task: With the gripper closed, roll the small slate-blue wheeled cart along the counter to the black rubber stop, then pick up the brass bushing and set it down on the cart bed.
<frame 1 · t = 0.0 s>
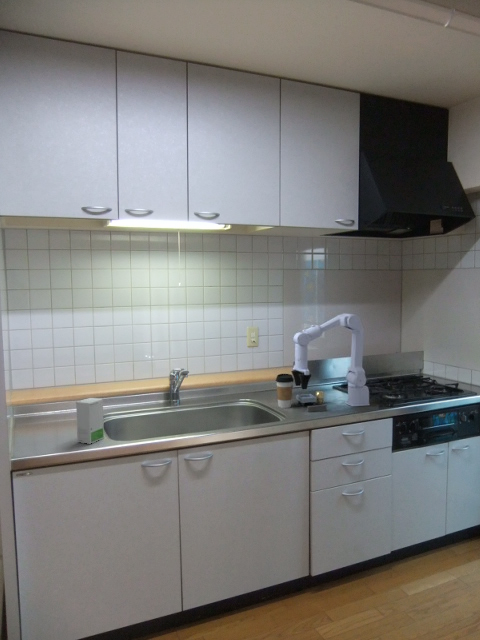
hand: (301, 387, 223), 10 cm above the countertop, fingers open, 7 cm apart
cart: (306, 400, 232), point 2 cm above the countertop, slide at 0.0 cm
coffee cup: (284, 406, 229), on the countertop
stop: (316, 410, 220), on the countertop
bushing: (319, 403, 234), on the countertop
skincare box: (90, 440, 183), on the countertop
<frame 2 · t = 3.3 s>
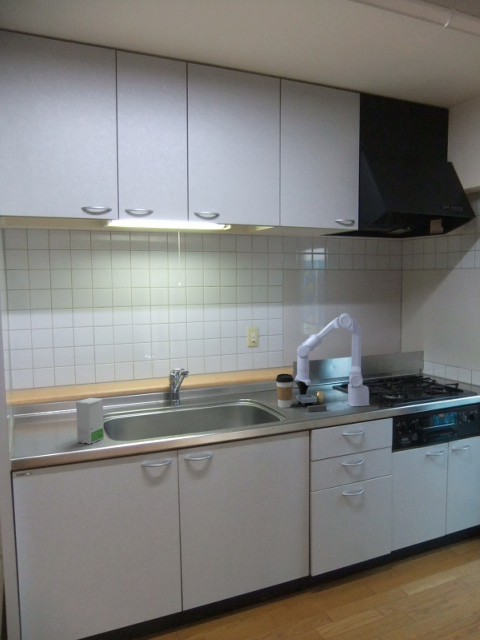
hand: (302, 396, 236), 3 cm above the countertop, fingers closed
cart: (306, 400, 232), point 2 cm above the countertop, slide at 0.4 cm, touching gripper
everything else where it was.
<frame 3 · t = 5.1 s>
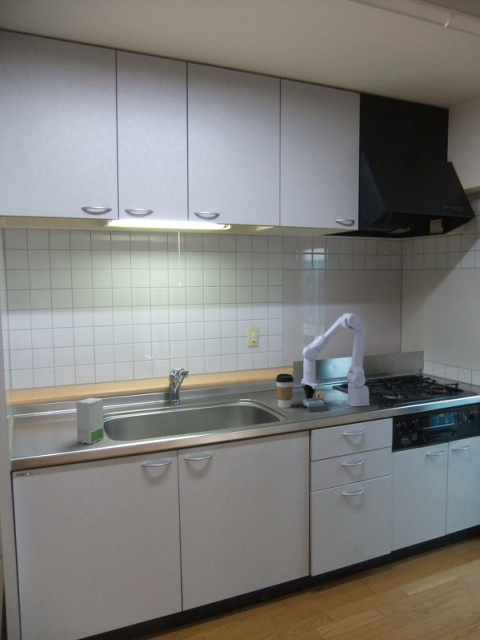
hand: (309, 400, 229), 3 cm above the countertop, fingers closed
cart: (313, 404, 224), point 2 cm above the countertop, slide at 8.4 cm, touching gripper, stop
everything else where it was.
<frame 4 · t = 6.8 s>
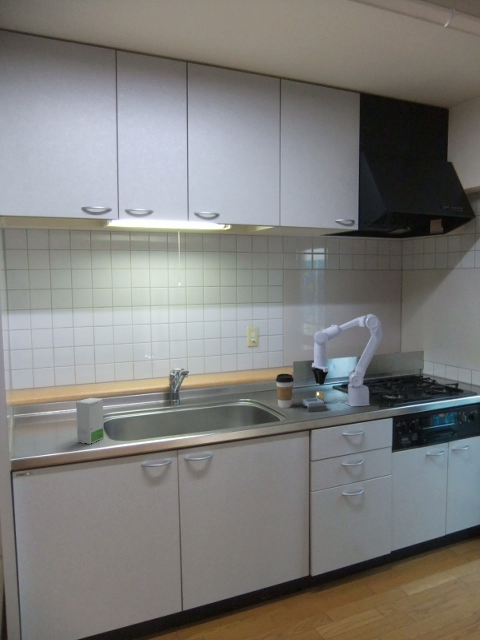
hand: (319, 383, 233), 9 cm above the countertop, fingers open, 3 cm apart
cart: (313, 404, 224), point 2 cm above the countertop, slide at 8.4 cm, touching stop
everything else where it was.
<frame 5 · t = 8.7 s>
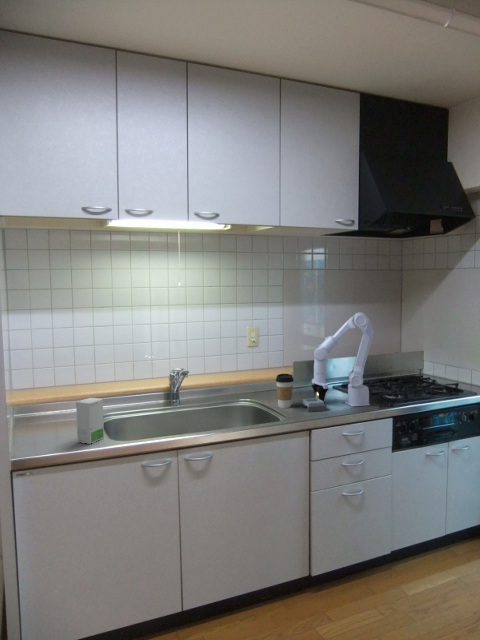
hand: (319, 400, 234), 1 cm above the countertop, fingers closed on bushing, 4 cm apart
bushing: (319, 403, 234), on the countertop, touching gripper
everything else where it was.
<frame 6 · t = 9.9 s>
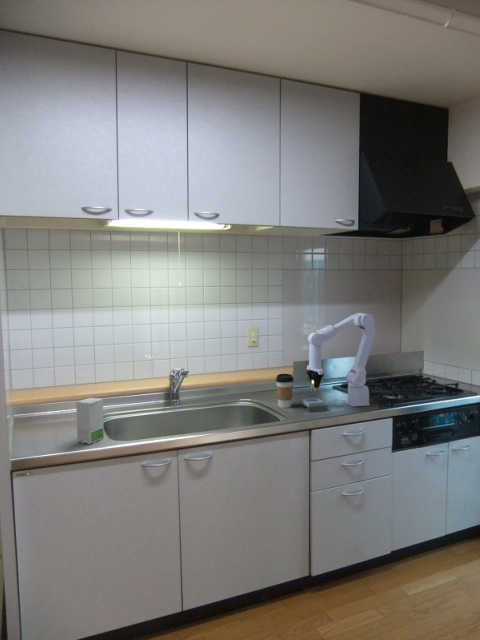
hand: (314, 386, 227), 10 cm above the countertop, fingers closed on bushing, 4 cm apart
bushing: (315, 391, 227), point 7 cm above the countertop, touching gripper
everything else where it was.
when the fingers open (5 cm above the countertop, at t = 11.4 s): bushing stays where it is, resting on cart.
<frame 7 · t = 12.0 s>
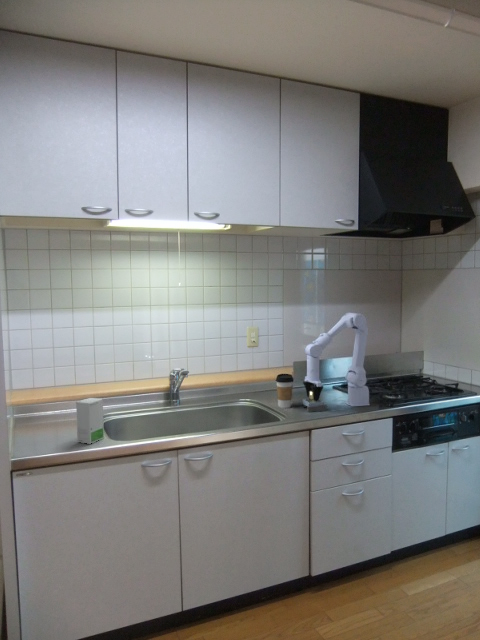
hand: (312, 398, 224), 5 cm above the countertop, fingers open, 7 cm apart
cart: (313, 404, 224), point 2 cm above the countertop, slide at 8.4 cm, touching bushing, stop
bushing: (313, 402, 224), point 3 cm above the countertop, touching cart
everything else where it was.
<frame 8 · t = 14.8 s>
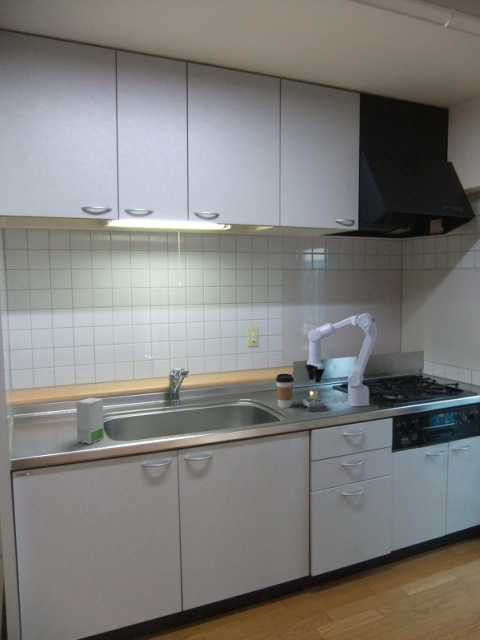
hand: (314, 380, 238), 10 cm above the countertop, fingers open, 7 cm apart
nothing on the countertop moved.
at the end: cart slide at 8.4 cm; bushing 0.3 cm off-centre on the cart, point 2.7 cm above the cart's base; bushing tilted 2° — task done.
